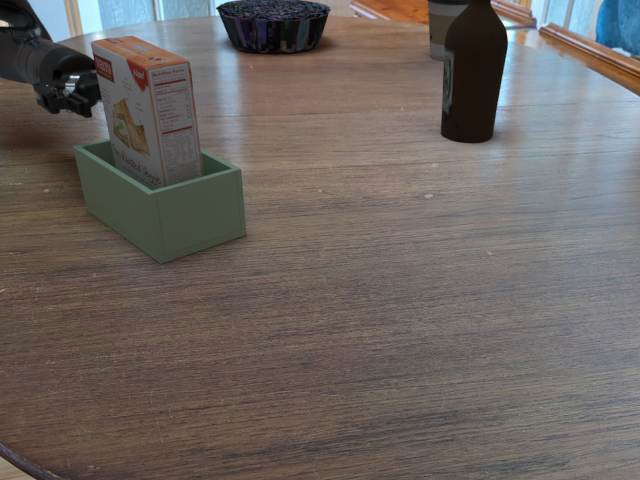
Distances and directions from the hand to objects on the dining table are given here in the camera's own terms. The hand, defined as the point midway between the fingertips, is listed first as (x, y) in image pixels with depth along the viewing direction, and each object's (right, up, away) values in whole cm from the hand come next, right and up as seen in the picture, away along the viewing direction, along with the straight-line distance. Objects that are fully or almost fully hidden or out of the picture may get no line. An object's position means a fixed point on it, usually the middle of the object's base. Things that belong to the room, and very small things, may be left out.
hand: (120, 103), depth 93 cm
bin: (+4, -14, +4) cm, 16 cm away
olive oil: (+49, +9, +38) cm, 62 cm away
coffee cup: (+49, +42, +82) cm, 104 cm away
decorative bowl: (+7, +47, +86) cm, 98 cm away
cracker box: (+4, -14, +4) cm, 15 cm away
